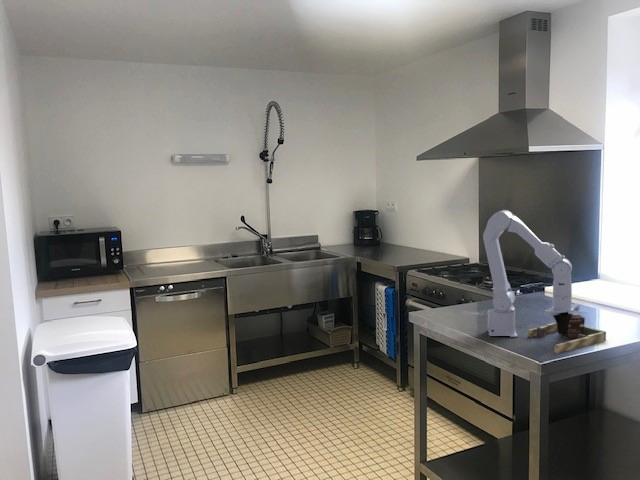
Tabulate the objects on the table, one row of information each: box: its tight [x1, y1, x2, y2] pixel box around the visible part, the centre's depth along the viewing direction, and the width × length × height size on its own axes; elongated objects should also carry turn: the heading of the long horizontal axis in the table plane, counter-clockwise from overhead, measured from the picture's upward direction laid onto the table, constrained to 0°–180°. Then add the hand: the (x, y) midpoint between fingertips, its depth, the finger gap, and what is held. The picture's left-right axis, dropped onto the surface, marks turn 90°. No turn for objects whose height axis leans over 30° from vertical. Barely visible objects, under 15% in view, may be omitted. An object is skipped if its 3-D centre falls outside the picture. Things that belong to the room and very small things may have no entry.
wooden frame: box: [528, 322, 607, 354], centre depth 179 cm, size 23×17×3 cm
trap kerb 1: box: [536, 326, 546, 338], centre depth 184 cm, size 1×2×3 cm, turn 26°
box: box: [559, 313, 586, 340], centre depth 181 cm, size 6×6×7 cm
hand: (562, 334), depth 179 cm, fingers closed
